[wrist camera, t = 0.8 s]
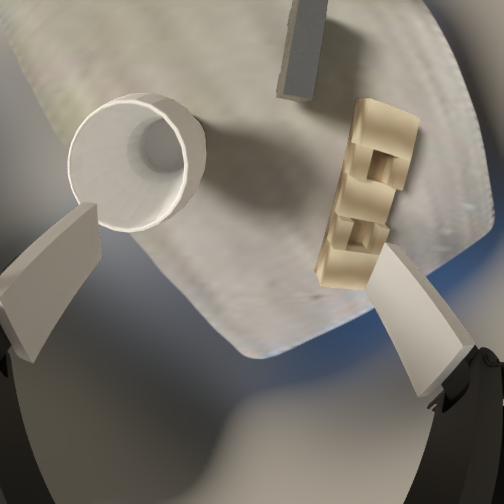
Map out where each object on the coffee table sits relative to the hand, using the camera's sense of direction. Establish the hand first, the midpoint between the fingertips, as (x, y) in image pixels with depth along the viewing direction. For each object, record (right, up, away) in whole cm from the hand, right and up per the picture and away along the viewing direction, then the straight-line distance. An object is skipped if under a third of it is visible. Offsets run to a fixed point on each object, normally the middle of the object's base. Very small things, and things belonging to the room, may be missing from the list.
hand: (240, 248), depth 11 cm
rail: (+15, +7, +21) cm, 27 cm away
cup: (-9, +13, +18) cm, 24 cm away
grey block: (+5, +23, +13) cm, 26 cm away
